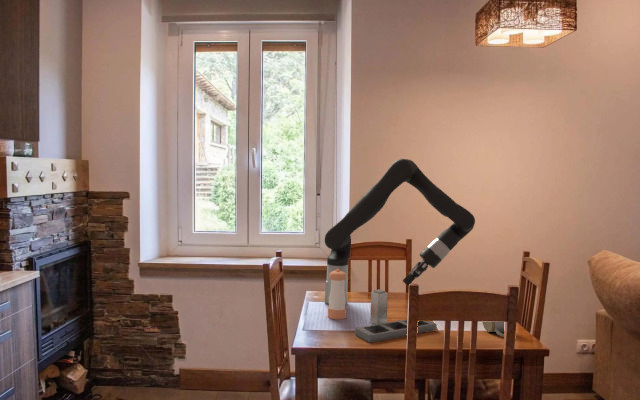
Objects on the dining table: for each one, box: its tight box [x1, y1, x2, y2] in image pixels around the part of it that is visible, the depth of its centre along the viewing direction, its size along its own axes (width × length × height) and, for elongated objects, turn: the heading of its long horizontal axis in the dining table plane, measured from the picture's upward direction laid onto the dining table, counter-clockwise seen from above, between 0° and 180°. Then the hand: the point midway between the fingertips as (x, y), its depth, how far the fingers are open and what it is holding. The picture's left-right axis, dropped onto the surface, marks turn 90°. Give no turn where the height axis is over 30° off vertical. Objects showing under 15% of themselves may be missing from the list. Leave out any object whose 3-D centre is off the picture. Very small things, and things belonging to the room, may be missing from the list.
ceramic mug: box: [482, 321, 505, 338], centre depth 176 cm, size 11×8×8 cm
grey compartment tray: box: [354, 318, 438, 344], centre depth 174 cm, size 30×9×2 cm, turn 119°
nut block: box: [369, 289, 389, 325], centre depth 184 cm, size 4×4×13 cm
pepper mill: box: [327, 269, 347, 320], centre depth 190 cm, size 7×7×19 cm
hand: (405, 283), depth 182 cm, fingers open, 8 cm apart
